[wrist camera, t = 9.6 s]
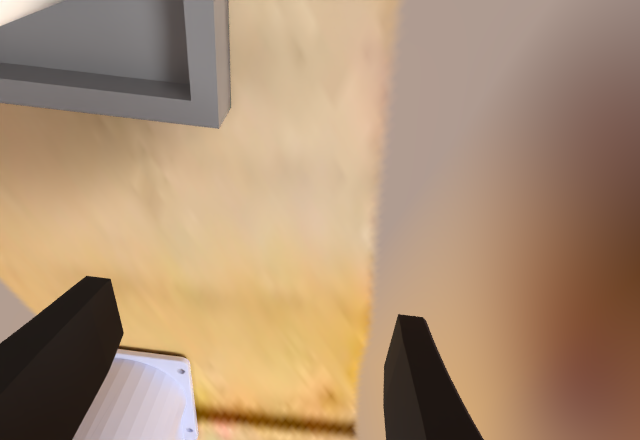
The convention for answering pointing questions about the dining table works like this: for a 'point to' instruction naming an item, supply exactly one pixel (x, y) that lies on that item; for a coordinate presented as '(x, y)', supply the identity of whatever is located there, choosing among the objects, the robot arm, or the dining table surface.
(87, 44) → the gray tray
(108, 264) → the dining table surface
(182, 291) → the dining table surface
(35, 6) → the salt shaker
